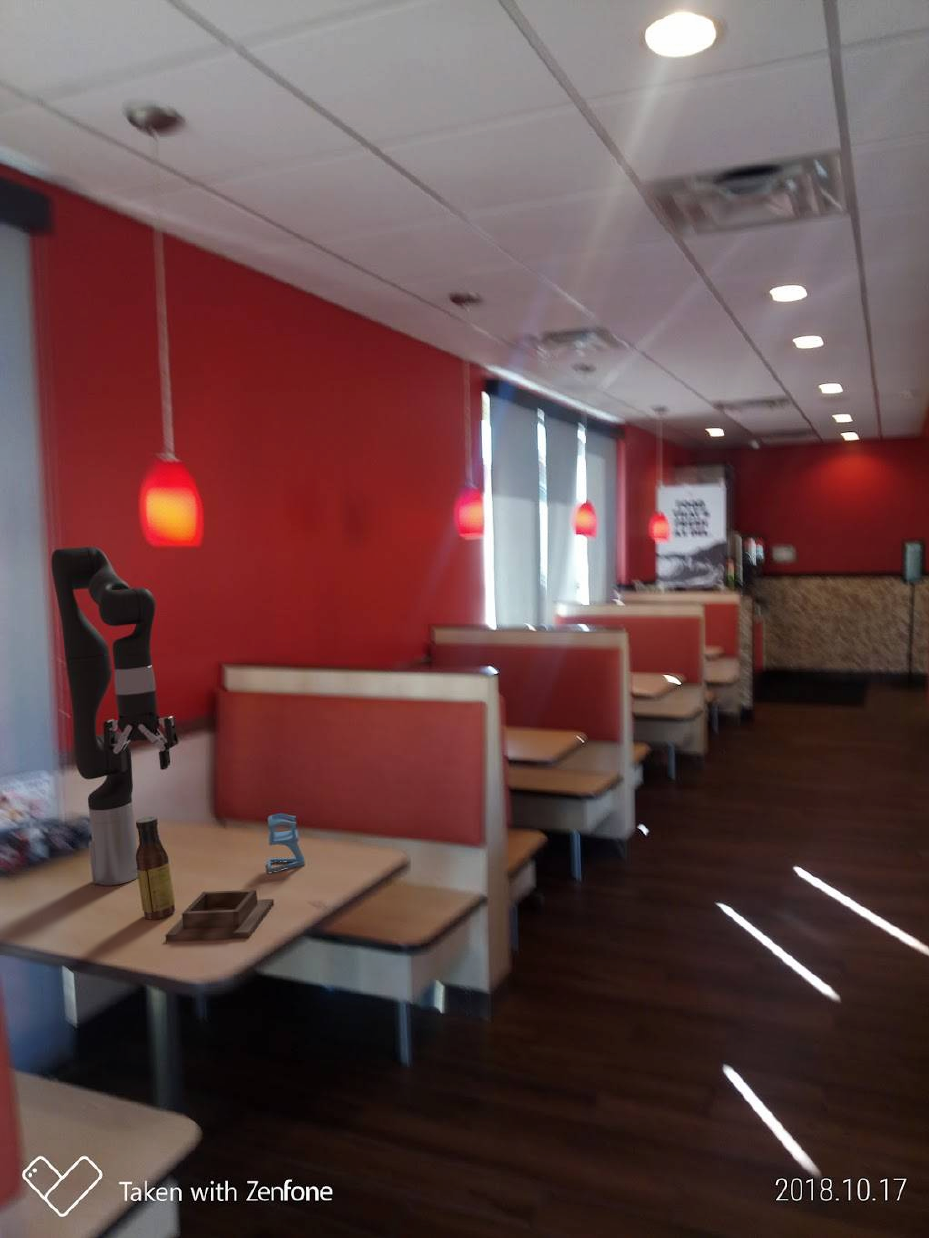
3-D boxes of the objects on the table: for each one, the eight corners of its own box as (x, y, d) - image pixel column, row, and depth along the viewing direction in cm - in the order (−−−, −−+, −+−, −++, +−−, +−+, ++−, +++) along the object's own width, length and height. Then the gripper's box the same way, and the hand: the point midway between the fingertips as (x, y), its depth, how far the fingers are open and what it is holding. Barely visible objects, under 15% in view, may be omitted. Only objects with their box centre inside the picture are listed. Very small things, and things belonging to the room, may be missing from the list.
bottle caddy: (166, 941, 176) (163, 919, 175) (197, 907, 191) (195, 887, 191) (248, 938, 174) (246, 916, 174) (274, 904, 190) (272, 884, 190)
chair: (305, 868, 210) (300, 816, 209) (267, 874, 209) (263, 821, 208) (304, 858, 218) (299, 807, 217) (267, 863, 216) (263, 812, 215)
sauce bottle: (180, 908, 192) (170, 813, 190) (168, 920, 186) (157, 822, 184) (149, 909, 193) (140, 814, 191) (136, 921, 186) (126, 824, 185)
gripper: (92, 694, 182) (100, 776, 184) (162, 690, 181) (170, 772, 182) (110, 688, 190) (118, 767, 191) (177, 684, 188) (185, 763, 190)
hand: (144, 769), depth 187 cm, fingers open, 8 cm apart
